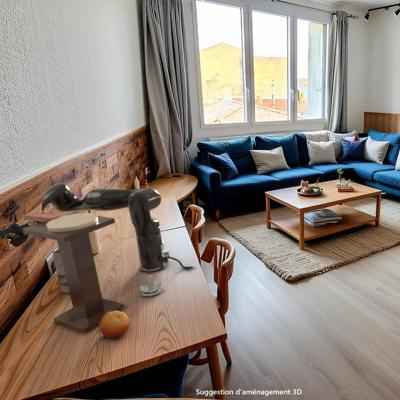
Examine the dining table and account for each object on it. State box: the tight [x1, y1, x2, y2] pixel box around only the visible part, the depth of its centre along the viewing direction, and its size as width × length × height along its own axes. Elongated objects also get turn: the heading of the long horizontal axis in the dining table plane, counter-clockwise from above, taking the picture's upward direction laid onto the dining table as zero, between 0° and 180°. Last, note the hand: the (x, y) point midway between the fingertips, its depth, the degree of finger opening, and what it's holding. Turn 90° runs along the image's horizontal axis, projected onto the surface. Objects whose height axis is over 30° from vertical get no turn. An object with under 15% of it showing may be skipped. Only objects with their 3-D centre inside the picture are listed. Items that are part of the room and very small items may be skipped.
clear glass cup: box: [139, 275, 163, 297], centre depth 124 cm, size 7×6×6 cm
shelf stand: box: [23, 211, 125, 334], centre depth 108 cm, size 18×16×32 cm
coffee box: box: [51, 248, 70, 294], centre depth 127 cm, size 9×6×16 cm
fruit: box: [98, 310, 131, 340], centre depth 102 cm, size 8×8×8 cm
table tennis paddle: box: [22, 212, 99, 232], centre depth 104 cm, size 25×13×2 cm, turn 73°
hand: (30, 221), depth 111 cm, fingers open, 8 cm apart
